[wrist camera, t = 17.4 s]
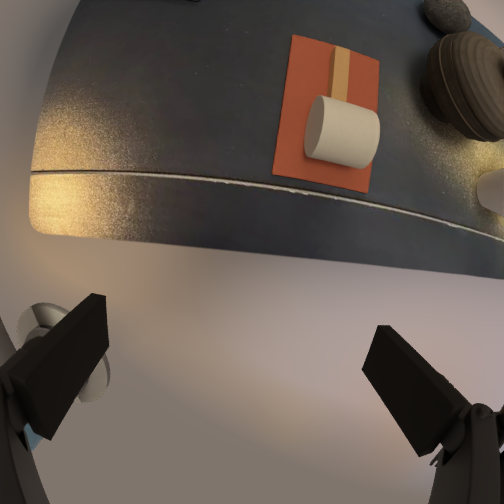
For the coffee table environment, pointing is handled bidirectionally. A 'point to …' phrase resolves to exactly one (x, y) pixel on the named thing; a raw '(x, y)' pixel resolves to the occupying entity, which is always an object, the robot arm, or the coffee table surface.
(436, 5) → the decorative ball
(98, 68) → the coffee table surface
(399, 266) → the coffee table surface
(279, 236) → the coffee table surface
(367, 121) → the mallet
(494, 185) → the cup
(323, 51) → the mat
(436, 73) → the pot
